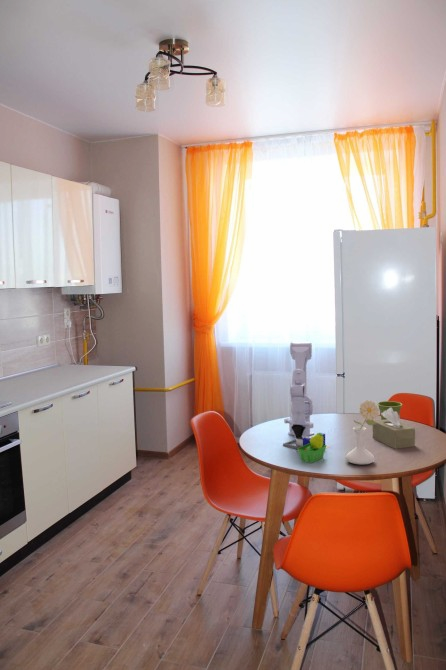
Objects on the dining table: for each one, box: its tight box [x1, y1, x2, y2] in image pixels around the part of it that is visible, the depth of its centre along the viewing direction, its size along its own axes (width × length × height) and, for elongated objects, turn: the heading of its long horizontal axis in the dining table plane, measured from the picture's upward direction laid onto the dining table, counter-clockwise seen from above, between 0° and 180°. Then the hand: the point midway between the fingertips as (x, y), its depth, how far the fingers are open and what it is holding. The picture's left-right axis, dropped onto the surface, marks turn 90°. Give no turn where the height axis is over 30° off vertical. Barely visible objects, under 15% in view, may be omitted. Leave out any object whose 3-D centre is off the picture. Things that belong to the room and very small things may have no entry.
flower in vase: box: [344, 400, 380, 465], centre depth 216 cm, size 13×11×25 cm
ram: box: [295, 435, 313, 447], centre depth 239 cm, size 5×6×4 cm
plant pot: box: [376, 400, 403, 420], centre depth 270 cm, size 12×12×11 cm
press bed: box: [282, 438, 331, 453], centre depth 240 cm, size 17×15×1 cm
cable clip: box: [303, 432, 326, 446], centre depth 235 cm, size 12×4×6 cm, turn 134°
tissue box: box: [372, 407, 416, 450], centre depth 243 cm, size 19×10×16 cm, turn 16°
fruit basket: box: [297, 432, 327, 464], centre depth 222 cm, size 11×9×11 cm
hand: (298, 441), depth 242 cm, fingers closed
